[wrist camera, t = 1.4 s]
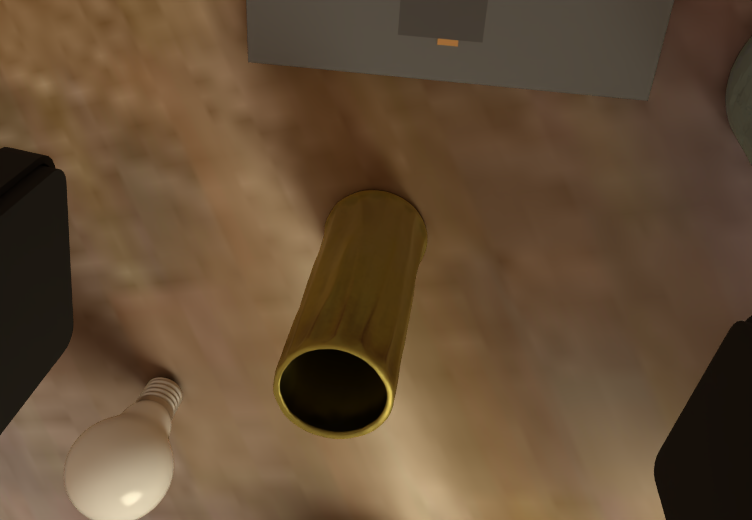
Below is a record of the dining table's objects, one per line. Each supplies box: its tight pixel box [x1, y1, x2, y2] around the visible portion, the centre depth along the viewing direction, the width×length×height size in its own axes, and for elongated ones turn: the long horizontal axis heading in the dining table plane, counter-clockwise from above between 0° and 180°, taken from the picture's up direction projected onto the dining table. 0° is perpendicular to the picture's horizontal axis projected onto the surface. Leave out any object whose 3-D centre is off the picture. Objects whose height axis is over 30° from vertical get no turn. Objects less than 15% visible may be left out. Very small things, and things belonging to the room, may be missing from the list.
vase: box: [273, 190, 427, 439], centre depth 36 cm, size 6×6×14 cm
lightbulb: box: [64, 377, 183, 520], centre depth 46 cm, size 6×6×11 cm
